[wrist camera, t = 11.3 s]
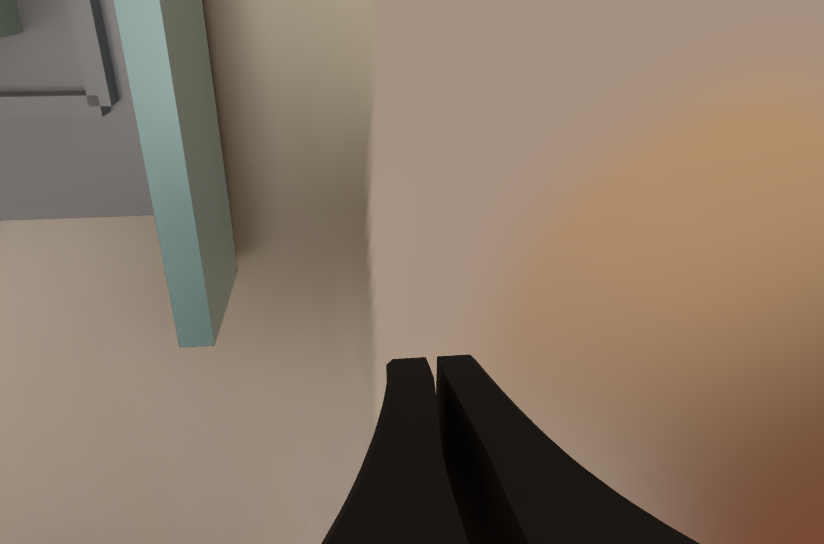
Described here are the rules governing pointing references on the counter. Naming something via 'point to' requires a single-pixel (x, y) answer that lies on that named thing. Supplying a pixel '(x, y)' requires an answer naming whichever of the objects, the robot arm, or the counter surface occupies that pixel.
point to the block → (9, 18)
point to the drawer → (122, 136)
